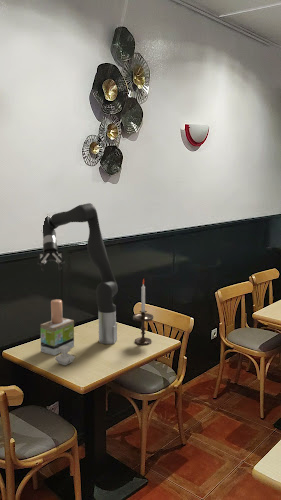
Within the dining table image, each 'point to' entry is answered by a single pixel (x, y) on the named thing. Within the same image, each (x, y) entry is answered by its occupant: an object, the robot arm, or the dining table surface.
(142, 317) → the candlestick
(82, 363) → the dining table surface
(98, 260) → the robot arm
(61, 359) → the white lumpy piece
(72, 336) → the tea box
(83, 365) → the dining table surface
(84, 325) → the dining table surface
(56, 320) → the tan rounded cylinder
